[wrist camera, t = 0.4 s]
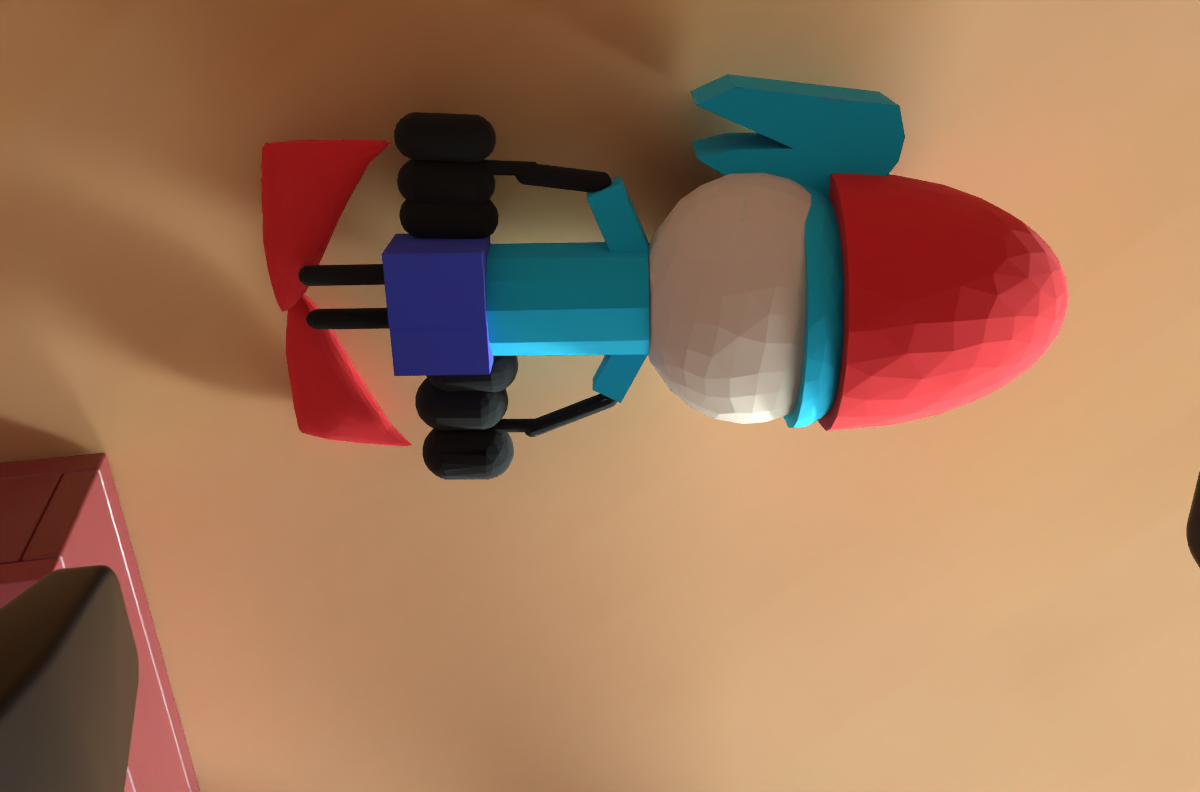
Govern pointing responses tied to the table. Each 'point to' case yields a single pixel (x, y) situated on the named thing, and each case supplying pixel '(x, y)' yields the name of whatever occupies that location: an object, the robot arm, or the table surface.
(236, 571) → the table surface
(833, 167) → the toy figure
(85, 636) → the robot arm
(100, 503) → the dark red shallow box
